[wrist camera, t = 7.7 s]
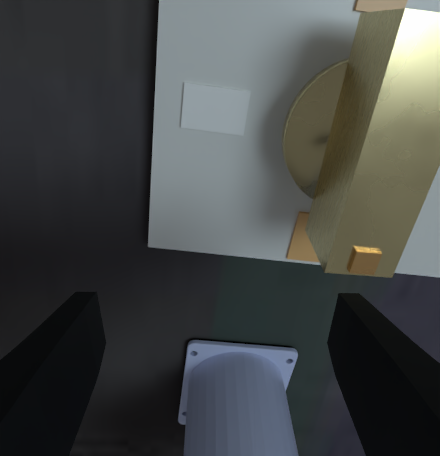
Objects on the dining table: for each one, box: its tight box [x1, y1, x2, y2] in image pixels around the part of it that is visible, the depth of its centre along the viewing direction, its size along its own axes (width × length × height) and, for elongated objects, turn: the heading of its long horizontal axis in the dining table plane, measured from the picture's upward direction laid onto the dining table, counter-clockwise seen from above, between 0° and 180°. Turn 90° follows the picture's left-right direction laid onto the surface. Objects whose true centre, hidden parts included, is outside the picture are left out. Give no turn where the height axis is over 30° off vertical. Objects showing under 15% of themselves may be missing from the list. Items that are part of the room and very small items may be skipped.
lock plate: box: [148, 0, 440, 277], centre depth 17 cm, size 16×18×2 cm
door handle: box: [282, 8, 440, 278], centre depth 14 cm, size 6×9×4 cm
